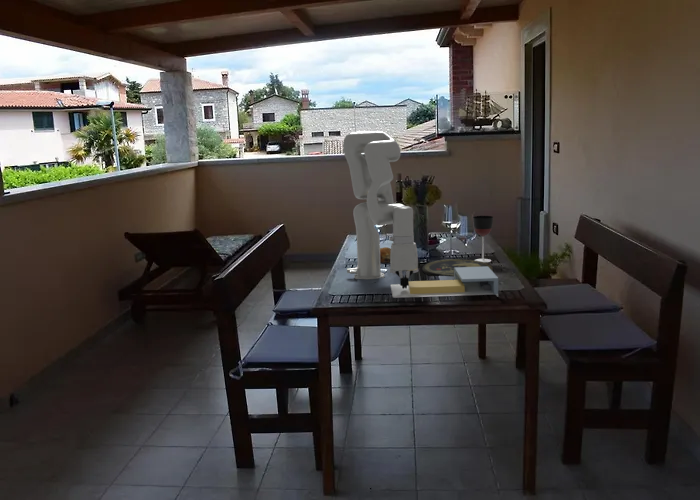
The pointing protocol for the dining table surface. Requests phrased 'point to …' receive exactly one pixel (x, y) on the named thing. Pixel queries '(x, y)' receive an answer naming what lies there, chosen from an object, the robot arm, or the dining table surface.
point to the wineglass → (483, 230)
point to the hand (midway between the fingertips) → (404, 287)
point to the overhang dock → (472, 278)
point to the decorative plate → (450, 266)
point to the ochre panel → (436, 286)
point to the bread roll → (385, 254)
